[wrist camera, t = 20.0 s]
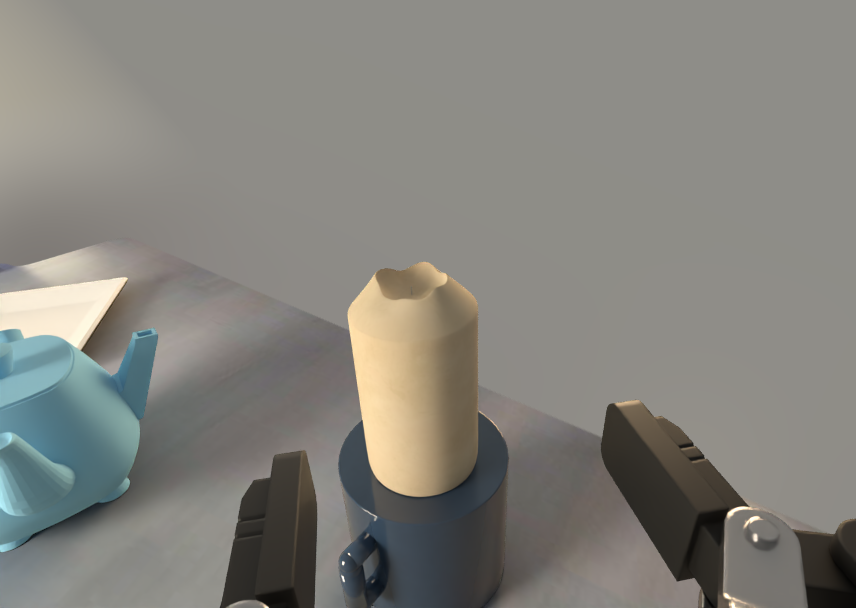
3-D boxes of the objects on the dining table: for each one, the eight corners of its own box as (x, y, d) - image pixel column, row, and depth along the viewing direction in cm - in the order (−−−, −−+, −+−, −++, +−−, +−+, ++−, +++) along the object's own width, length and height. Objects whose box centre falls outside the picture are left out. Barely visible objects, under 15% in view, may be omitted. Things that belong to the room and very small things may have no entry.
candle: (347, 478, 24) (315, 295, 20) (399, 407, 29) (383, 243, 24) (454, 514, 22) (447, 319, 17) (492, 432, 27) (495, 258, 22)
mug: (418, 472, 35) (410, 379, 31) (531, 536, 30) (538, 436, 26) (300, 594, 28) (271, 492, 24) (424, 703, 23) (412, 598, 19)
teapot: (214, 425, 40) (172, 299, 35) (85, 593, 28) (-10, 443, 23) (49, 411, 43) (-14, 292, 37) (-133, 560, 31) (-265, 418, 25)
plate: (79, 378, 47) (71, 360, 46) (-160, 418, 43) (-175, 399, 42) (133, 290, 63) (127, 275, 62) (-39, 314, 59) (-48, 299, 58)
